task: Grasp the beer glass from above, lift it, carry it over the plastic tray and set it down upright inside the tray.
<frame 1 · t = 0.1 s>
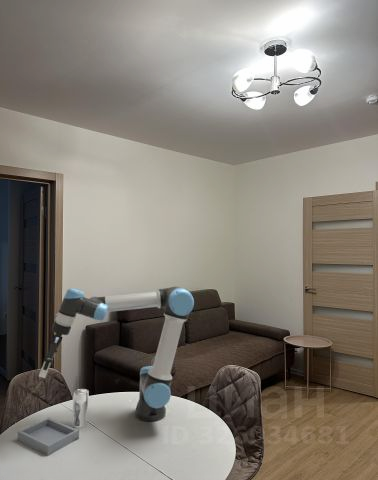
hand: (44, 371, 147), 28 cm above the table, tool tilted 20°, fingers open, 13 cm apart
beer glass: (79, 425, 158), on the table
tray: (48, 439, 145), on the table
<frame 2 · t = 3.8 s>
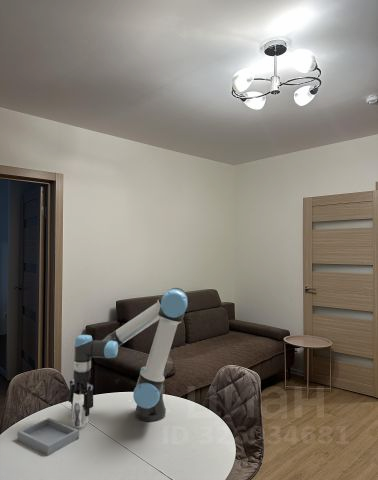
hand: (79, 420, 158), 2 cm above the table, tool pointing down, fingers closed on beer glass, 6 cm apart
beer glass: (79, 425, 158), on the table, touching gripper
when the fingers open (4 cm above the table, at t = 10.3 s): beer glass drops 1 cm, resting on tray.
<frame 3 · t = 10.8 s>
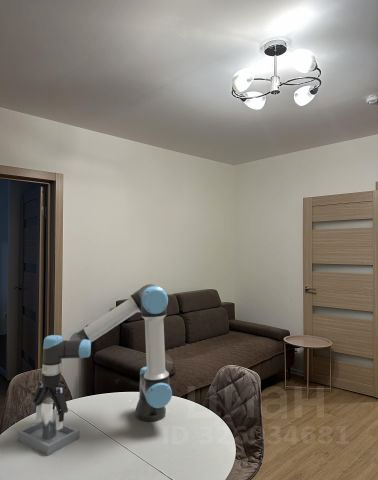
hand: (48, 424, 145), 6 cm above the table, tool pointing down, fingers open, 13 cm apart
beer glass: (49, 437, 145), point 1 cm above the table, touching tray
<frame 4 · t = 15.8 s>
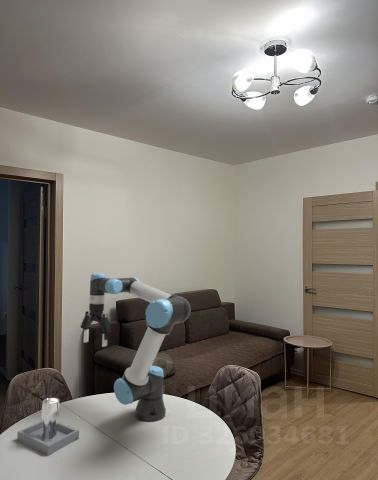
hand: (95, 344, 179), 32 cm above the table, tool pointing down, fingers open, 13 cm apart
nothing on the table moved.
at the end: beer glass inside the target area on the tray (0.5 cm from its centre), point 0.8 cm above the tray's base; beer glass tilted 0°; the gripper is holding nothing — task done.
